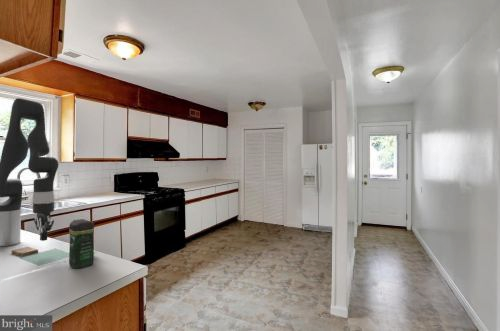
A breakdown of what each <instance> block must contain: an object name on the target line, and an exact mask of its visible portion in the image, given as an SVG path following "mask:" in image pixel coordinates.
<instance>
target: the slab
mask: <svg viewBox="0 0 500 331" xmlns="http://www.w3.org/2000/svg"><path fill="white" fill-rule="evenodd" d="M36 253H39V248H38V249H37V248H34V247H30V246H24V247H19V248H16V249H12V250H11V254H12V255H15V256H18V257H24V256H28V255H32V254H36Z"/></svg>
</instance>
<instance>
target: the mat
mask: <svg viewBox="0 0 500 331" xmlns="http://www.w3.org/2000/svg"><path fill="white" fill-rule="evenodd" d="M66 258H69V251H65V250H61V249H57V248H52V249H48V250H43V251H41V252H40V251H39V252H38V253H35V254H31V255H28V256H24V257H21V256H19V259H21V260H23V261H26V262H27V263H31V264H33V265H36V266H42V265H45V264H49V263H53V262H56V261H59V260H63V259H66Z"/></svg>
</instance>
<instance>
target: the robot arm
mask: <svg viewBox="0 0 500 331" xmlns="http://www.w3.org/2000/svg"><path fill="white" fill-rule="evenodd" d="M45 116H46V115H45V110H44V105H43V104H42V103H41V102H38V101H35V100H34V101H33V100H30V99H25V98H20V97H18V98H15V99H14V100H13V102H12V105H11V110H10V117H9V124H8V128H7V132H6V136H5V140H4V143H3V147H2V150H1V151H2V152H1V155H0V198H8V199H6V200H5V201H3V202H0V247H6V246H8V247H9V246H13V245H14V246H15V245H17V244H19V243H21V234H22V233H21V232H22V230H21V229H22V228H21V223H22V222H21V219H22V218H21V207H22V200H23V199H22V197H23V183H22V180H21V179H19V178H18V177H17V178H15V177H14V178H9V177H10V174H11V173H12V172H13V171H14V170H15V169H17V167H18V166H20V165H22V163H23V162H24V161H25V159H27V156H28V152H29V160H28V164H27V168H28V170H29V171H30V172H31V173H35V174H39V173H41V174H42V173H45V174H46V175H45V176H42V177H38V178H35V179H34V180H33V194H32V213H33V214H36V217H35V218H33V223H34V225H35V228H36V230H37V231H38V232H39V240H40V241H41V242H44V241H47V240H48V232H50V231H51V230H52V228H53V225H54V223H55V220H53V219H52V216H51V213H54V211H55V193H54V181H55V178H56V174H57V172H58V168H59V162H58V159H57V158H55V157H53V156H47V155H49V153H50V147H49V143H48V139H47V135H46V134H47V133H46V118H45ZM22 119H24V120H28V121H34V123H35V124H34V127H33V128H32V129H31V130H30V132H29V134H28V135H27V137H26V135H25V133H24V131H23V130H22V125H21V124H22V123H21V122H22Z"/></svg>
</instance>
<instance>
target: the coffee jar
mask: <svg viewBox="0 0 500 331" xmlns="http://www.w3.org/2000/svg"><path fill="white" fill-rule="evenodd" d="M68 231H69V251H68V253H69V257H68V264H69V266H70V267H72V268H74V269H79V268H82V269H84V268H87V267H89V266H91V265H93V264H94V262H95V258H94V256H95V254H94V253H95V252H94V249H95V246H94V241H95V240H94V237H95V236H94V234H95V233H94V232H95V224H94V222H93V221H90V220H87V219H84V218H81V219H74V220H72V221H71V222H70V223H69V229H68Z"/></svg>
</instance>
